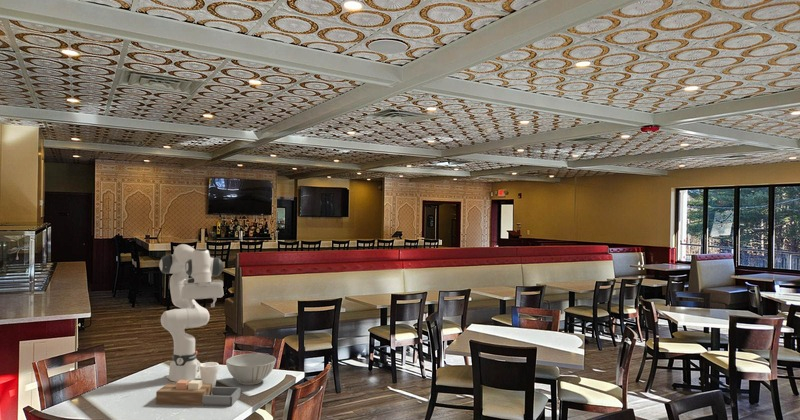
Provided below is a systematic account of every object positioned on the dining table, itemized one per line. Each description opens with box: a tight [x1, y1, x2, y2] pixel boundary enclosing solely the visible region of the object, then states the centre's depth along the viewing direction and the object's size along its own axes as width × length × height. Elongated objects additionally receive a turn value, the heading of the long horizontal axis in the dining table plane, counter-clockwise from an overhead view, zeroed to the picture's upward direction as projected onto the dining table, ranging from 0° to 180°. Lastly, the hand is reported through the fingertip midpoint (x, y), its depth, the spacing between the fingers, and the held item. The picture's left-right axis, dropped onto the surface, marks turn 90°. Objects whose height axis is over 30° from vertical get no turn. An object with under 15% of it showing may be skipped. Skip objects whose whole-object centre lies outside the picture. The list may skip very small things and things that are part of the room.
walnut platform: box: [155, 382, 212, 406], centre depth 263 cm, size 14×22×6 cm, turn 90°
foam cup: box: [200, 361, 220, 387], centre depth 279 cm, size 10×9×13 cm
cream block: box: [188, 379, 202, 390], centre depth 263 cm, size 5×5×3 cm
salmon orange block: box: [175, 380, 190, 389], centre depth 263 cm, size 5×5×3 cm
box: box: [202, 386, 241, 407], centre depth 263 cm, size 14×14×4 cm
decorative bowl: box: [225, 353, 277, 386], centre depth 294 cm, size 27×27×12 cm
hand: (203, 307), depth 265 cm, fingers open, 8 cm apart
